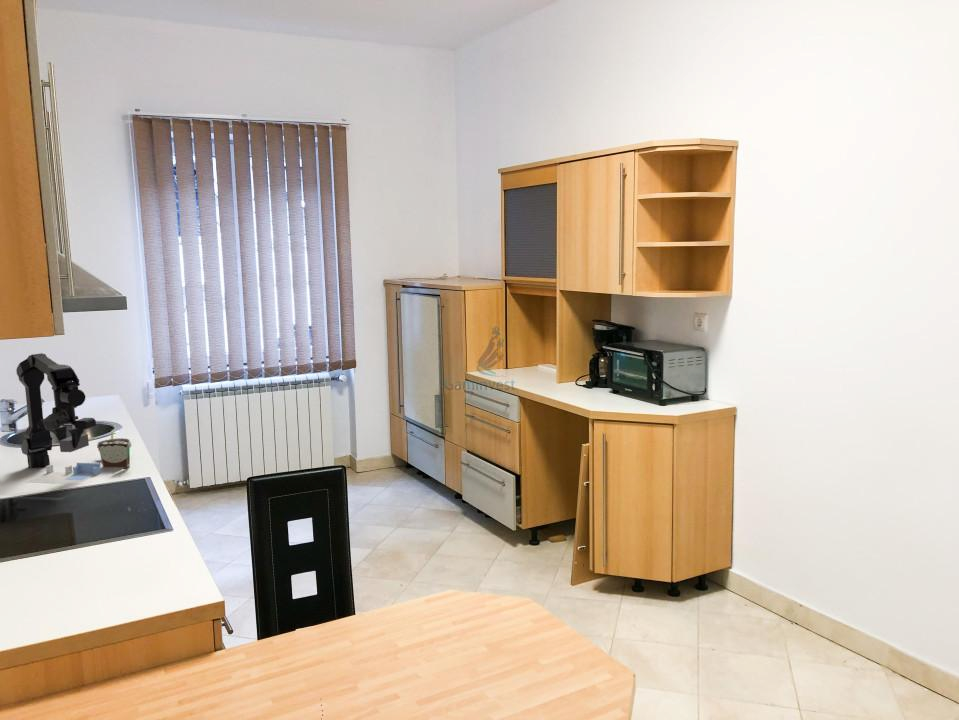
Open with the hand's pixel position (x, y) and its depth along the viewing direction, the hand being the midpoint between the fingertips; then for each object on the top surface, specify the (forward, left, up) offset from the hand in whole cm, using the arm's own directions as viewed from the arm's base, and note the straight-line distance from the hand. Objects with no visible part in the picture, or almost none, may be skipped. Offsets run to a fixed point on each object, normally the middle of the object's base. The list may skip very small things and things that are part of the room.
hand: (69, 447), depth 265 cm
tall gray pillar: (0, +2, -1) cm, 3 cm away
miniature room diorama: (-5, +2, -12) cm, 13 cm away
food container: (+5, +19, -12) cm, 23 cm away
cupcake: (-5, +28, -12) cm, 31 cm away
